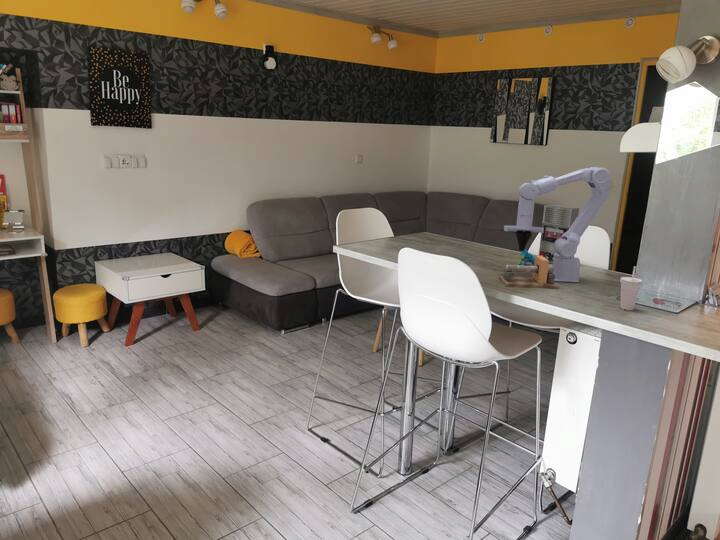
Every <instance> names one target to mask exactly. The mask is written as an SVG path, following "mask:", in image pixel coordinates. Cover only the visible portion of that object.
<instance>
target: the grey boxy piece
mask: <svg viewBox="0 0 720 540" xmlns="http://www.w3.org/2000/svg"><path fill="white" fill-rule="evenodd" d="M579 214H580V208H579V207H574V206H566V205H559V204H544V207H543V214H542V215H543V216H542V223H541V227H543V228H544V232H543V233H540V241H539V250H538V256H543V257H544V258H546V259H547V260H549V264H551V265H553V259H554V254H555V253H556V251H555V249H554V243H555V241H556V240H557V239H559V238H560V237H561V236H562V235H563V234H564V233H565V232H566V231H568V230H569V228H570V227H571V225H572V224H573V222H574V221H575V220H576V218H577V217H578V215H579Z"/></svg>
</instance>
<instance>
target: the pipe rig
mask: <svg viewBox="0 0 720 540" xmlns="http://www.w3.org/2000/svg"><path fill="white" fill-rule="evenodd" d="M514 272H518V273H533V272H535V273H538V272H539V266H533V265H526V264H525V265H521V264H506V265H505V268H504V269H503V275H499V276H498V279H499V280H500V282H502V284H503V285H504V286H505V287H508V288H509V287H511V288H513V287H515V288H531V289H535V288H536V289H552V290H553V289H555V290H559V289H560V285H559V284H558V283H556V281H554V280H555V275H554V274H553V273H554V267H553V266H548V273H547V282H546V284H539V283H538V282H537V281H536V280H535V279H533V276H531V277H530V276H514Z"/></svg>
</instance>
